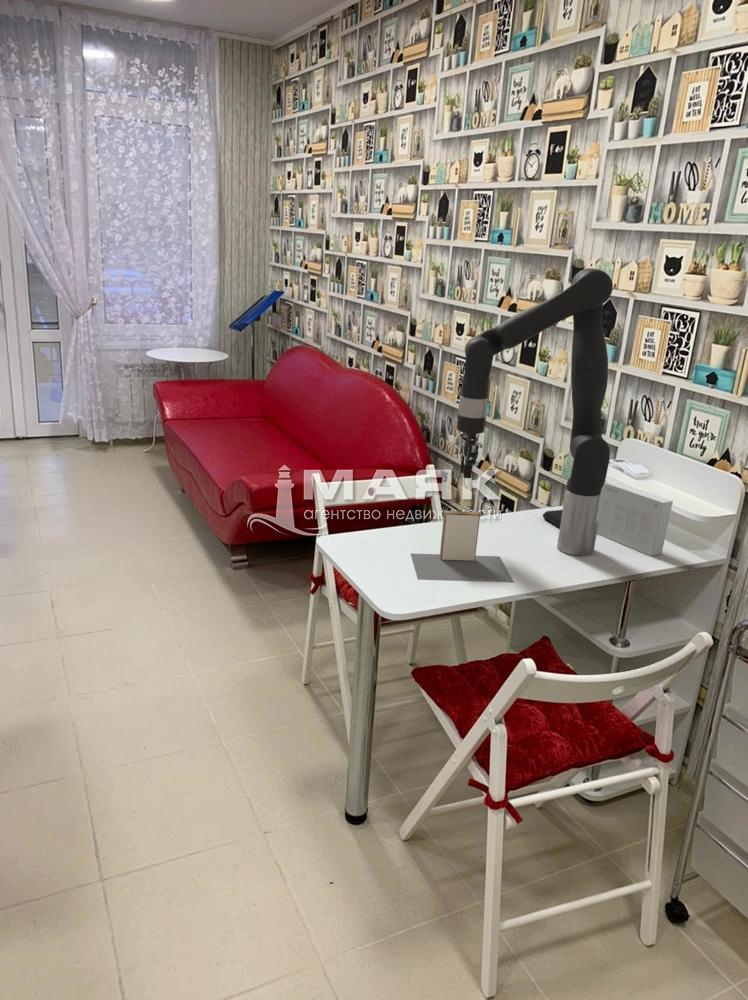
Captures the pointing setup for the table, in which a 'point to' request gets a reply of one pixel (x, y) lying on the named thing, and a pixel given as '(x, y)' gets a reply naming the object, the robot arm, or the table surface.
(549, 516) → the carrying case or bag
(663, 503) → the skincare box
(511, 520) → the table surface
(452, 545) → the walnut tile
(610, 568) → the table surface
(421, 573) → the charcoal mat
